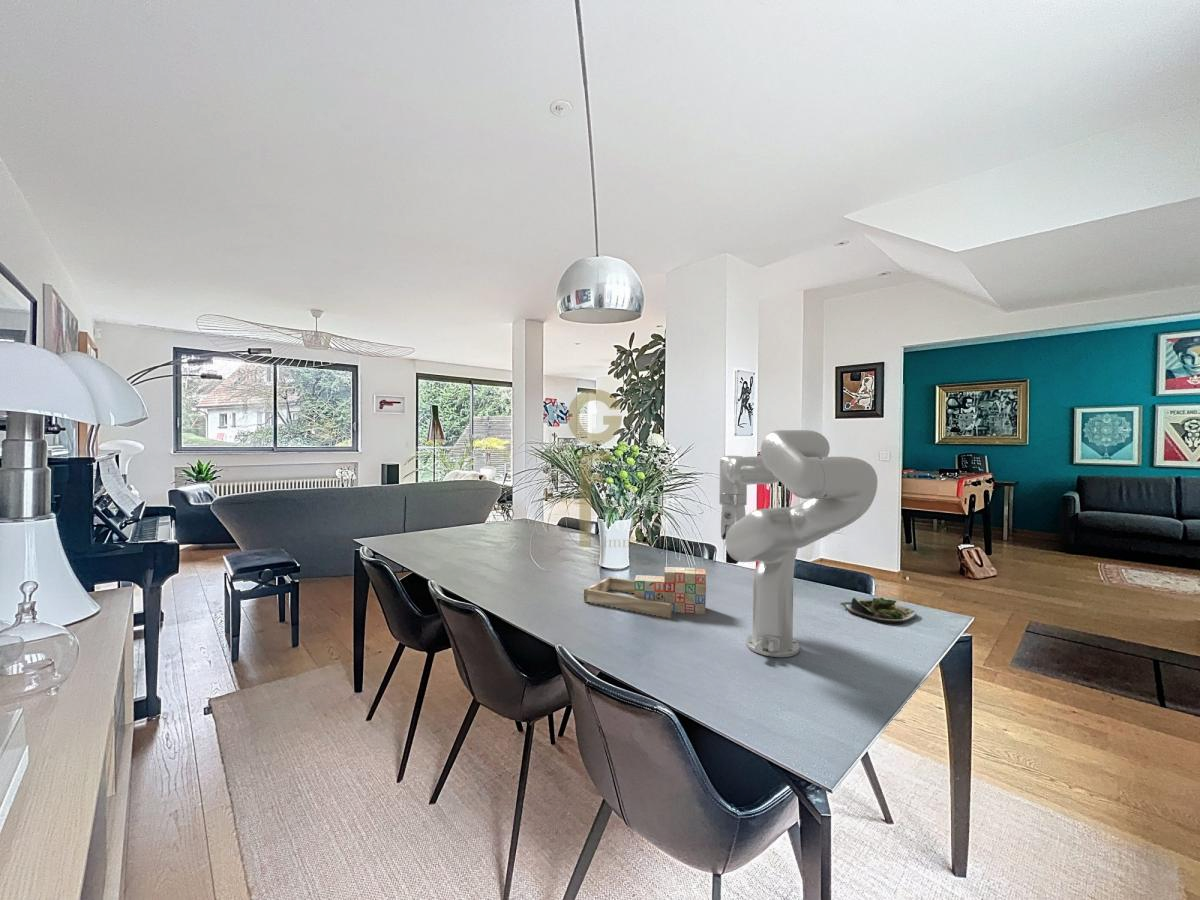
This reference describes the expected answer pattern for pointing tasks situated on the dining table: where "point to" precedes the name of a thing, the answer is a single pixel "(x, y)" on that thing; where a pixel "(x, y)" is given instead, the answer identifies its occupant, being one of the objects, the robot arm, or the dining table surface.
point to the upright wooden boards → (624, 597)
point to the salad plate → (879, 610)
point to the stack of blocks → (675, 589)
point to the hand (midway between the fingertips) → (732, 562)
